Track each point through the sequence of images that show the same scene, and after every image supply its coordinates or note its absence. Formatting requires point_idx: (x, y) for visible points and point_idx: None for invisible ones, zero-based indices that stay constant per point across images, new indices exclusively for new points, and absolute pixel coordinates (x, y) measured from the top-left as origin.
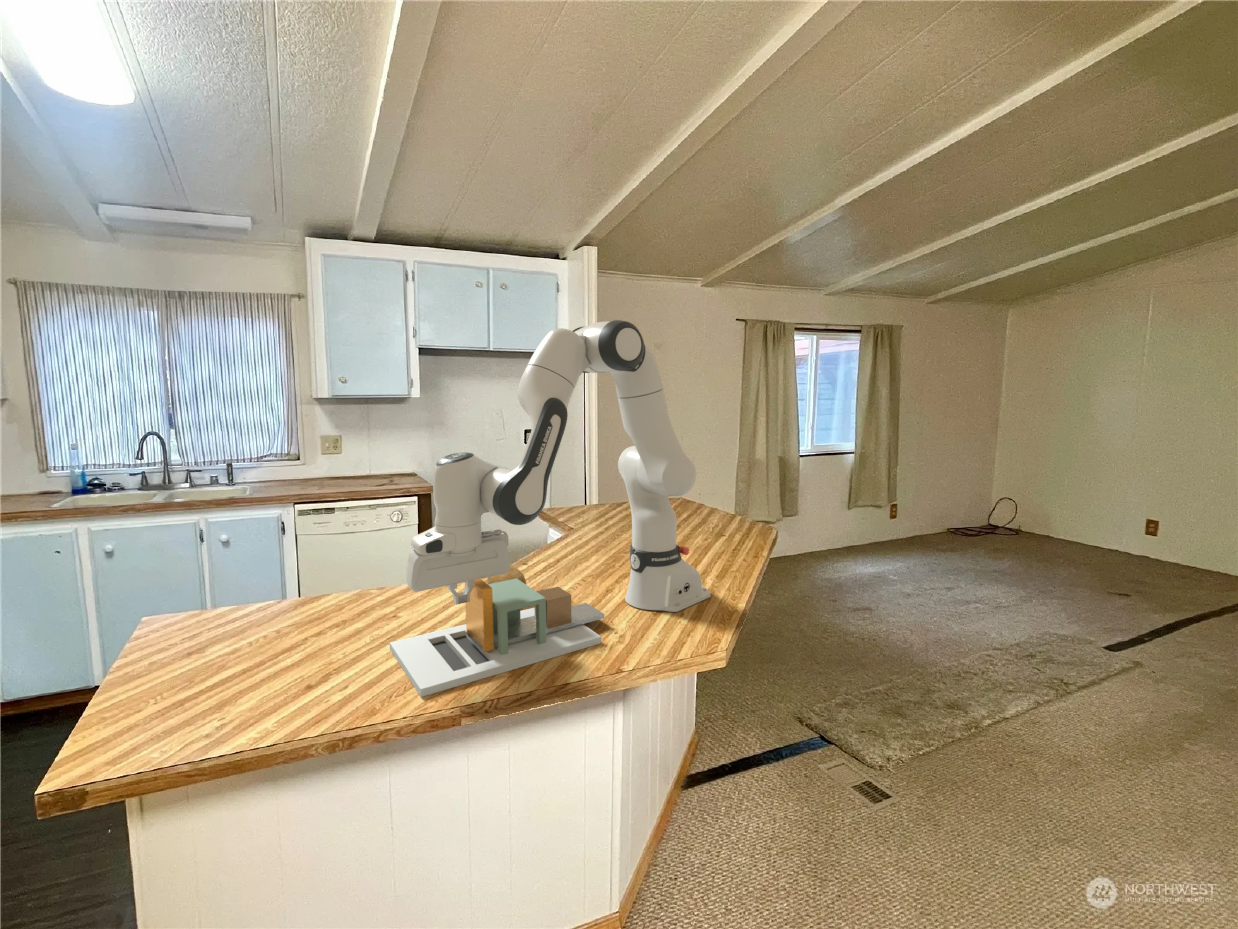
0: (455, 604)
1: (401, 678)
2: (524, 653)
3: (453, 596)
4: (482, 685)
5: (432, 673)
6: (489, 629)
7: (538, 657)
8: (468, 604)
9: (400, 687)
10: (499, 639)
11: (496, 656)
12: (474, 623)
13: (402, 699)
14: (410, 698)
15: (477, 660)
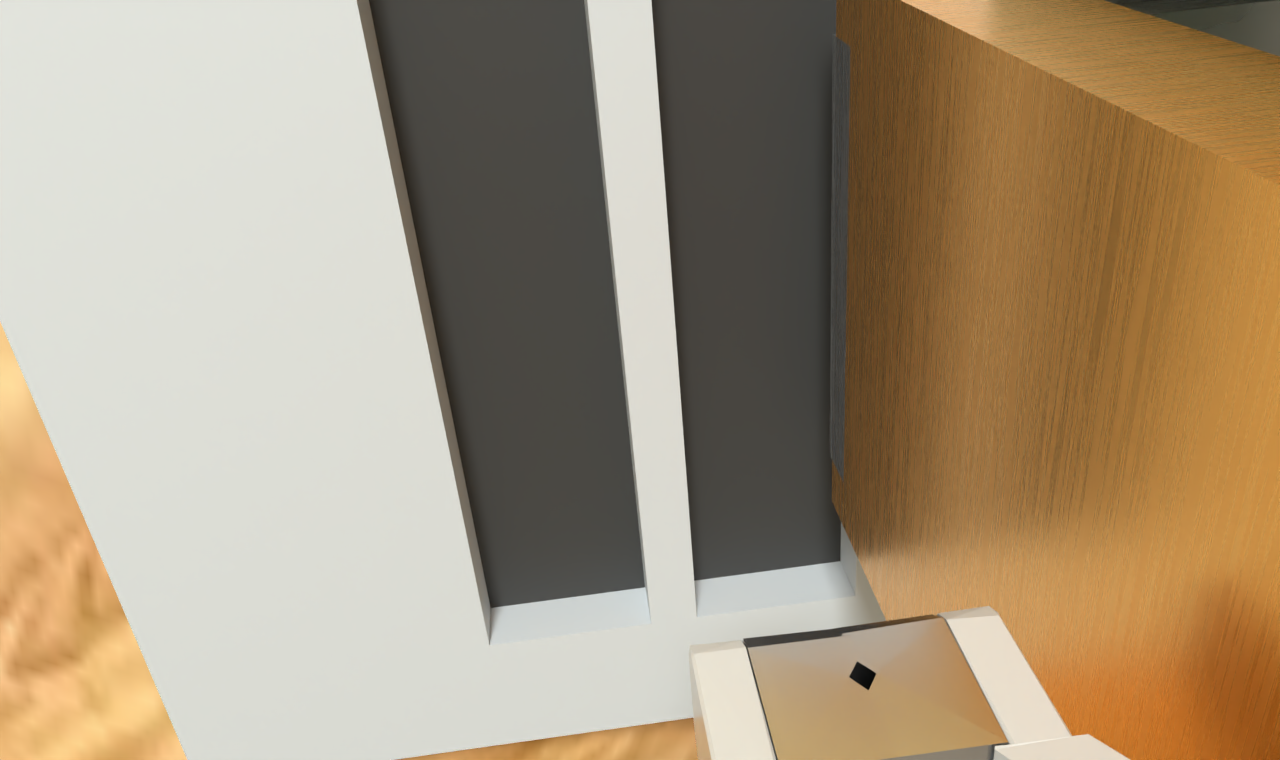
0: (694, 719)
1: (35, 431)
2: None
3: (710, 758)
4: (663, 736)
5: (307, 621)
6: None
7: None
8: (1028, 254)
9: (42, 565)
10: None
11: None
12: (913, 383)
13: (76, 715)
14: (137, 722)
15: (752, 435)
